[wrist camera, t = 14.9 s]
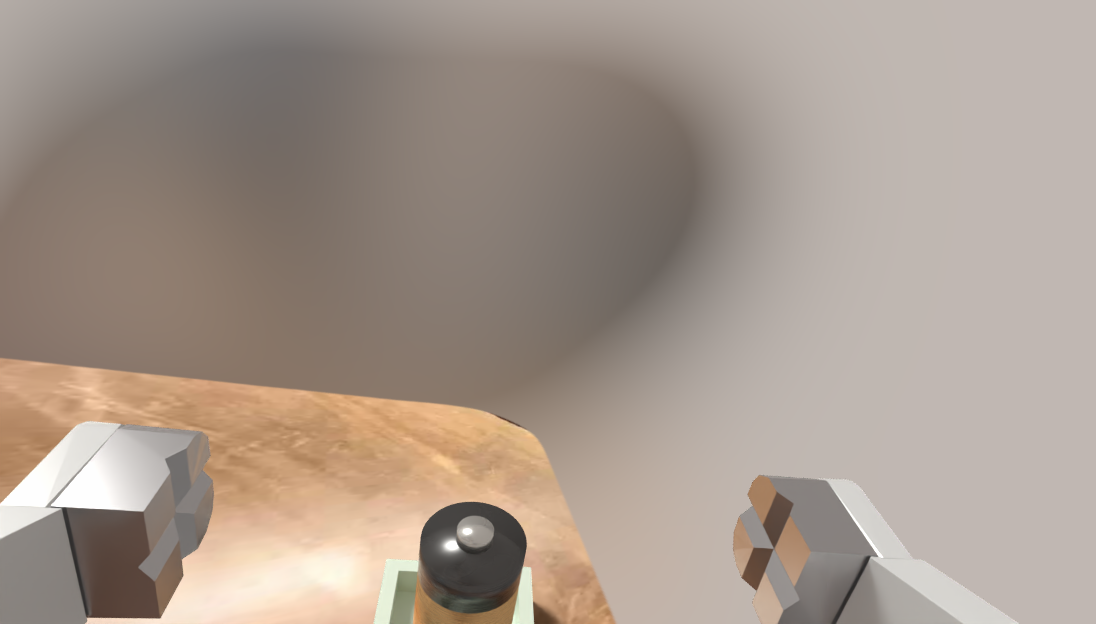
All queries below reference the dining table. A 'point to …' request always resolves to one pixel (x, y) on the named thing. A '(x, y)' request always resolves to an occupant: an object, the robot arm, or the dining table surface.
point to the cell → (469, 566)
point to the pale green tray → (401, 589)
